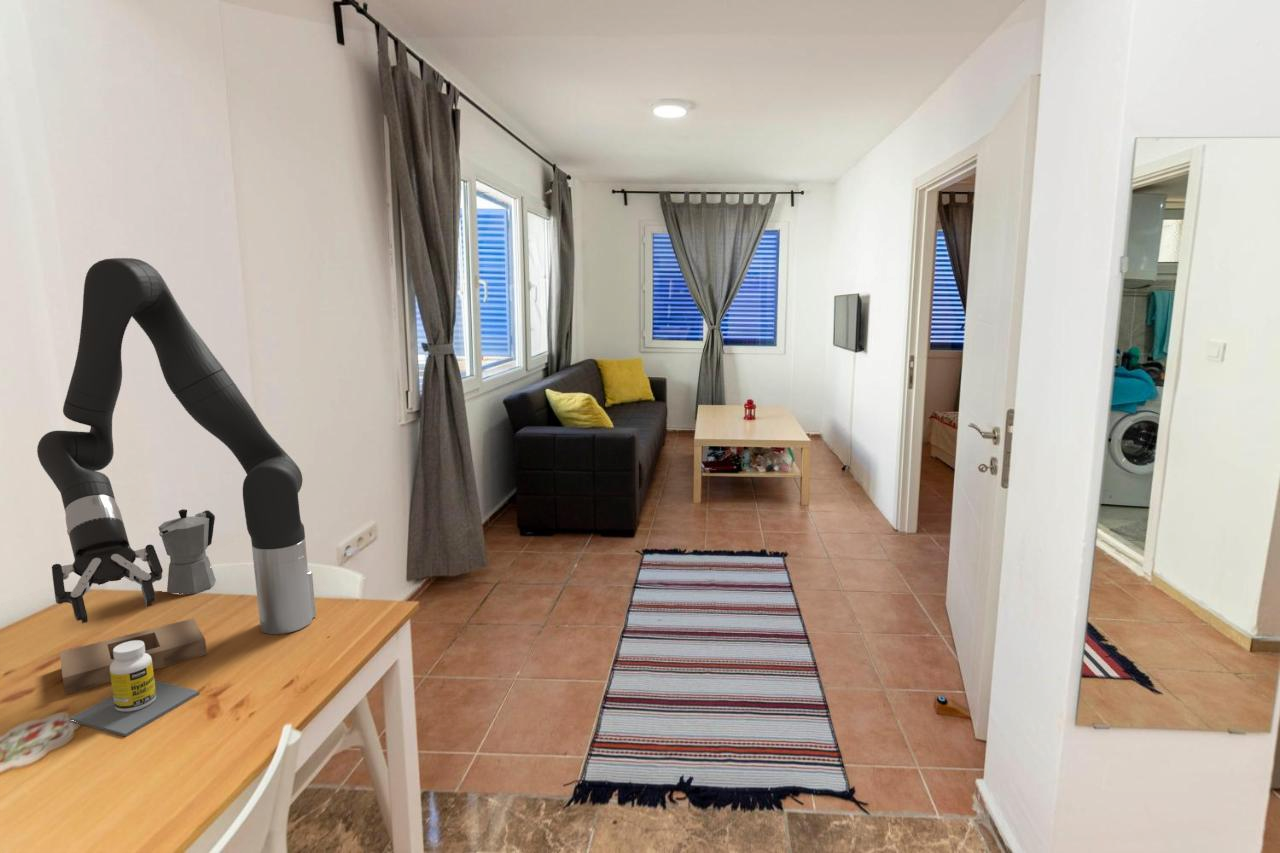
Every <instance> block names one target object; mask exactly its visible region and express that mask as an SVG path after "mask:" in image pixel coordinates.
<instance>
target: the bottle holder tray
mask: <svg viewBox="0 0 1280 853" xmlns="http://www.w3.org/2000/svg"><path fill="white" fill-rule="evenodd" d="M134 640H140V641H143V642H144V645H145V652H144V653H147V654H149V655H150V656H151V658H152V664H153V671H154V670H157V669H160V668H165V667H168V666H170V665H171V666H172V665H175V664H178V663H181V662H182V663H183V662H185V661H189V660H192V659H196V658H199V657H202V656H206V655H207V654H208V652H207V651H208V650H207V646H206V645H207V644H206V638H205V635H203V633H202V631H201V629H200V627H199V625H198V623H197V622H196V620H195V618H194V617H192V618H188V619H185V620H182V621H177V622H173V623H169V624H165V625H161V626H157V627H154V628H150V629H146V630H142V631H138V632H137V631H136V632H134V633H130V634H129V633H128V634H125V635H122V636H118V637H114V638H110V639H106V640H102V641H98V642H95V643H94V642H93V643H89V644H87V645H81V646H79V647H75V648H71V649H67V650H62V651H59V658H60V659H59V660H60V666H61V675H62V681H63V688H64V692H65V693H64V694H65V696H67V695H71V694H73V693H77V692H80V691H84V690H87V689H92V688H94V687H95V688H96V687H99V686H101V685H104V684H108V683H111V676H110V665H111V663H112V662H113V661H114V660H115V659H114V655H113V649H114V648H115V647H116V646H117V645H119V644H122V643H125V642H128V641H134Z"/></svg>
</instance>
